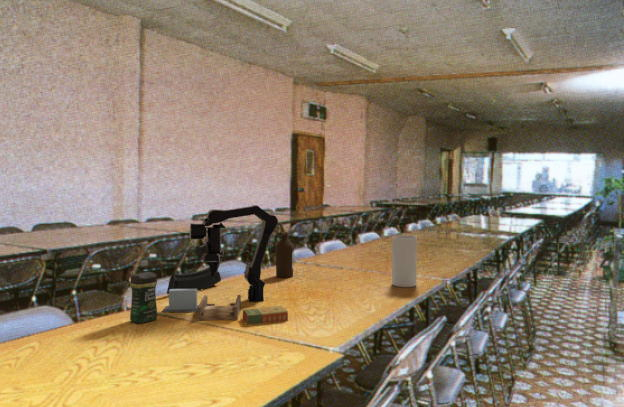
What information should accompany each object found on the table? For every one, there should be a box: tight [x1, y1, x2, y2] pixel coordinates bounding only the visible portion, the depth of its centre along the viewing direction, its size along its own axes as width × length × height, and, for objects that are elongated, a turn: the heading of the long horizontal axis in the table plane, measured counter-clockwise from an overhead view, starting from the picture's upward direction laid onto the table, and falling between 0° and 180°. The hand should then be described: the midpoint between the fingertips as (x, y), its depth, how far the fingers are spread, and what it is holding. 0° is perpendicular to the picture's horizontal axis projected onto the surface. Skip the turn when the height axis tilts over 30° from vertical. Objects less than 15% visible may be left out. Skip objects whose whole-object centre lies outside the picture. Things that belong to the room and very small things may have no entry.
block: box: [168, 289, 198, 310], centre depth 197 cm, size 11×3×8 cm, turn 95°
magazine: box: [166, 266, 222, 295], centre depth 229 cm, size 17×3×30 cm
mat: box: [160, 304, 199, 313], centre depth 197 cm, size 16×9×1 cm, turn 95°
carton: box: [242, 305, 289, 325], centre depth 183 cm, size 8×16×4 cm, turn 110°
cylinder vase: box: [391, 234, 418, 288], centre depth 243 cm, size 12×12×25 cm
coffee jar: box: [129, 271, 158, 324], centre depth 181 cm, size 10×8×19 cm
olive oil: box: [274, 231, 295, 279], centre depth 263 cm, size 11×11×25 cm
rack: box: [196, 294, 242, 321], centre depth 192 cm, size 15×19×5 cm
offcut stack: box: [203, 305, 234, 316], centre depth 188 cm, size 12×6×4 cm, turn 95°
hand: (214, 274), depth 206 cm, fingers open, 9 cm apart
